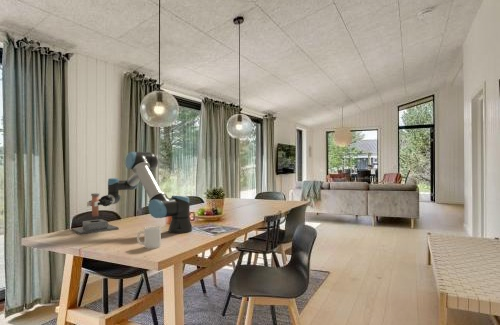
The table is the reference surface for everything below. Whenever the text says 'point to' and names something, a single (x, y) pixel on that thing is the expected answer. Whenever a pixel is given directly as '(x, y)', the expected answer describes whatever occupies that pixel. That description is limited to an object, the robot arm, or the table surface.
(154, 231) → the cup
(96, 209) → the pin
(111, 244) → the table surface
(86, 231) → the hitch plate
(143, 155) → the robot arm
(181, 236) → the table surface
